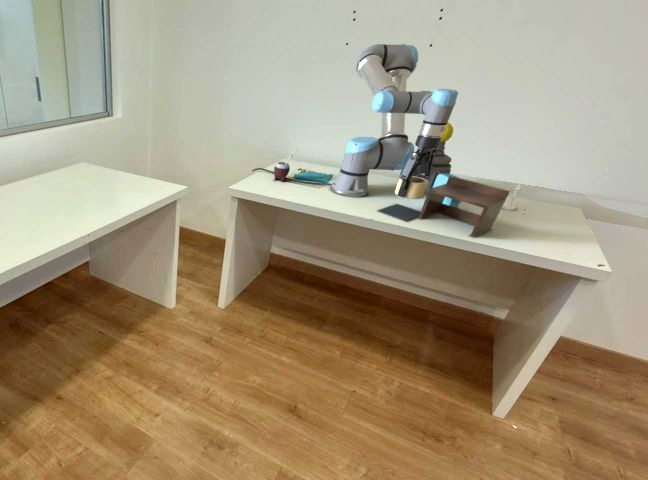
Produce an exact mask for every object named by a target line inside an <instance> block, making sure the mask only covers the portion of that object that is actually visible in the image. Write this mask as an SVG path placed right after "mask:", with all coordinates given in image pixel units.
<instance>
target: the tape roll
mask: <svg viewBox="0 0 648 480" xmlns="http://www.w3.org/2000/svg"><path fill="white" fill-rule="evenodd" d="M398 180H399V181H398ZM398 180H397V184H396V187H395V189H394V194H395V195H396V196H397V195H398V192H399V189H400V186H401V183H402V180H403V179H400V178H399V177H398ZM410 181H411V182H410V185H409V188H408V190H407V193H406V196H405V197H403V198H405V199H411V200H420V199H423V198H424V196H425V195H424V194H425V191H426V189H427V186H428V183H429V181H428V180H426V179H424V178H420V177H415V176H412V177H411V179H410Z"/></svg>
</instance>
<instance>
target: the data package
mask: <svg viewBox="0 0 648 480" xmlns="http://www.w3.org/2000/svg"><path fill="white" fill-rule="evenodd" d="M449 176H454V177H458V178H460V177H459V176H456V175H454V174H452V173H450V174H439V175H438V176H437V178H436V180H435V183H434V185H433V188H434V187H437V186H440V185H443V184H446V183H447V181H448V178H449ZM461 203H462V201H458V200H455V199H452V198H448V197H445V198H444V201H443V204H446V205H450V206H453V207H456V208H459V207H460V204H461Z"/></svg>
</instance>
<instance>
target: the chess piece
mask: <svg viewBox="0 0 648 480" xmlns="http://www.w3.org/2000/svg"><path fill="white" fill-rule="evenodd" d="M520 188H521V184H518V185H517V186H516V188H513V193H511V194H510V195H511V197H510V198H509V200H508V201H507V202H505V203H504V204H503V206H502V208H501V209H504V210H507V211H514V210H516V206H515V205H514V201H515V198H516V197H518V193H519V192H520V191H521V189H520Z"/></svg>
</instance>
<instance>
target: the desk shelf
mask: <svg viewBox="0 0 648 480" xmlns="http://www.w3.org/2000/svg"><path fill="white" fill-rule="evenodd" d="M454 176H455V175H454ZM454 176H449V178H448V181H447V183H446V184H443V185H440V186H437V187H434V188H431V189H430V190H429V192H428V195H427V196H426V198H425V200H424V202H423V205H422V208H421V210H420V215H419V217H417V218H418V219H420V220H422V219H425V218H428V217H430V216H433V215H436V214H439V215H443V216H446V217H448V218H450V219H454V220H457V221H461V222H463V223H467V224H470V225H473V226H474V227H473V228H472V231H471V233H470V235H469V236H470V237H472V238H475V237H478V236H480V235H481V234H484V233H486V232H488V231H490V230H492V228H493V226H494V224H495V222H496V220H497V217H498V216H499V214H500V211H501V210H502V209H503V208H502V206H503V204H505V203H506V200H507V198H508V196H509V194H510V193H511V190H507V189H505V188H501V187H497V186H492V185H489V184H485V183H481V182H477V181H474V180H469V179H465V178H461V177H459V176H457V177H454ZM458 177H459V178H458ZM445 197H448V198H452V199H455V200H458V201H461V203H465V204H469V205H472V206H476V207H478V208H479V207H480V208H482V211H481V212H480V214H478V213H475V212H472V211H469V210H465V209H463V208H459V207H458V208H456V207H453V206H450V205H446V204H443V201H444V198H445Z"/></svg>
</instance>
